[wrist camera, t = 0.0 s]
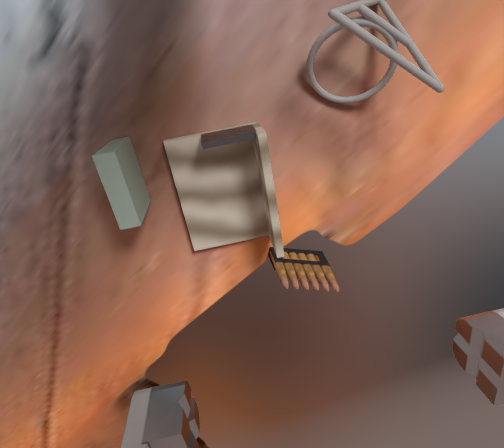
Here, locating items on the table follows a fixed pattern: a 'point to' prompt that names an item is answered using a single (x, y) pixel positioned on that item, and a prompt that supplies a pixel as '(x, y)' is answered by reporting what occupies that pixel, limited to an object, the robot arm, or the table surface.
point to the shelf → (226, 186)
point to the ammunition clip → (303, 268)
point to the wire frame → (389, 32)
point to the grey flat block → (123, 182)
